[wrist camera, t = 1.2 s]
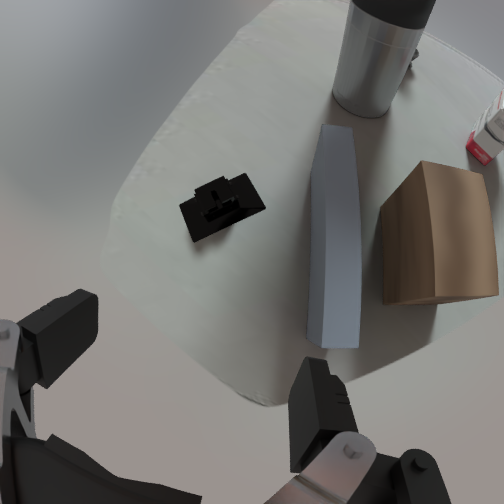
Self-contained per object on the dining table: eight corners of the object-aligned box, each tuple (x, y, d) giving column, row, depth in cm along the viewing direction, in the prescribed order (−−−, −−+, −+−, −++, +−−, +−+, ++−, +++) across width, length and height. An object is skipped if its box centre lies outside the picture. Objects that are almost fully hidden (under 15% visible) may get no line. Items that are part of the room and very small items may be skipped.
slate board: (334, 174, 35) (352, 127, 25) (332, 339, 30) (358, 348, 21) (310, 172, 35) (322, 124, 25) (306, 338, 31) (321, 348, 21)
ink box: (485, 167, 34) (525, 132, 22) (464, 147, 35) (501, 107, 23) (493, 140, 35) (526, 105, 23) (474, 122, 36) (505, 84, 24)
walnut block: (432, 213, 33) (482, 174, 21) (437, 304, 30) (498, 295, 18) (380, 207, 33) (421, 160, 22) (382, 304, 31) (435, 296, 19)
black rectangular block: (185, 255, 34) (173, 246, 30) (166, 205, 36) (153, 190, 31) (279, 210, 35) (280, 195, 30) (253, 163, 36) (250, 144, 32)
